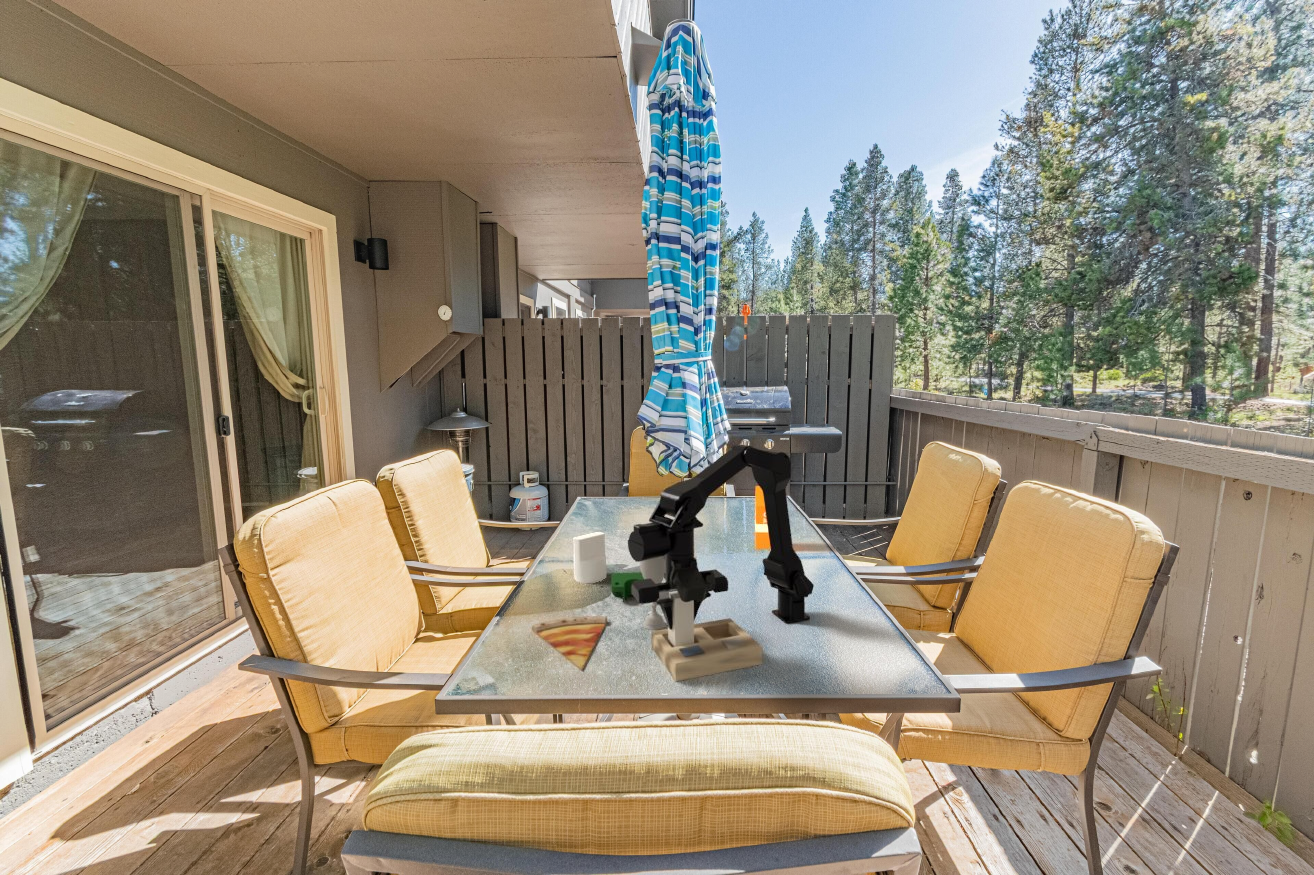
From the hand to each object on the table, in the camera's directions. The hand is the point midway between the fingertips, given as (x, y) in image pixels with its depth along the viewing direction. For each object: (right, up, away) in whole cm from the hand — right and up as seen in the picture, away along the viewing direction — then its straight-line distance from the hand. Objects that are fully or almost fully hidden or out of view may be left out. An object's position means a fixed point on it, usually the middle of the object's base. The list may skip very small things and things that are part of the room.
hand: (680, 627), depth 115 cm
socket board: (+5, -6, 0) cm, 8 cm away
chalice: (-5, -5, +15) cm, 16 cm away
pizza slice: (-25, -6, +7) cm, 27 cm away
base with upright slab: (-23, -1, +45) cm, 51 cm away
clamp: (-11, -3, +30) cm, 32 cm away
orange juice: (+31, +2, +70) cm, 77 cm away
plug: (0, -3, 0) cm, 3 cm away
